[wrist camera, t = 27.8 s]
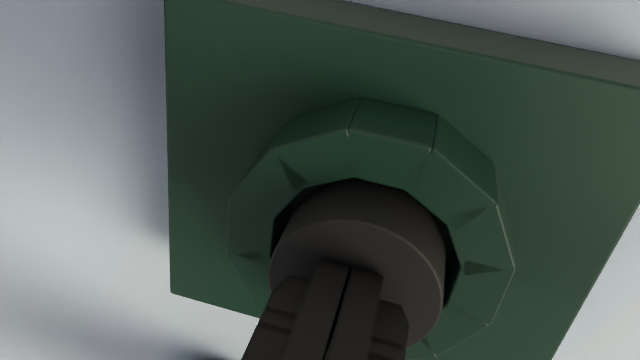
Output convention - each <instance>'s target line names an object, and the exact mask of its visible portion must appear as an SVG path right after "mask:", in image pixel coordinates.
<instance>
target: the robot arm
mask: <svg viewBox="0 0 640 360" xmlns="http://www.w3.org/2000/svg"><path fill="white" fill-rule="evenodd" d="M349 269H350V267H349V266H345V265H341V264H337V263H334V262H330V261H326V260H322V259H318V261H317V263H316V266H315V269H314V271H313V274H312V276H311V279H310V280H307V279H303V278H300V277H296V276H292V275H289V276H288V277H287V278H286V279H284V280H283V281H282V282H281V283H280V284H278V285H277V286H276V287H275V288H274V289H273V291H272V293H271V296H270V298H269V300H268V302H267V304H266V307H265V310H264V311H263V313H262V315H261V318H260V320H259V323H258V325H257V326H256V328H255V331H254V333H253V335H252V337H251V339H250V342H249V344H248V346H247V348H246V350H245V353H244V355H243V357H242V359H241V360H405V353H406V346H407V338H408V330H409V324H408V321H407V318H406V315H405V313H404V310H403V307H402V305H399V304H395V303H391V302H388V301H384V300H380V299H379V298H380V293H381V288H382V284H383V279H384V276H383V275H379V274H375V273H372V272H368V271H364V270H360V269H357V268H352V271H351V274H350V278H349V281H348V285H347V288H346V292H345V287H346V283H347V278H348V274H349ZM344 292H345V295H344ZM343 296H344V299H343ZM342 301H343V302H342ZM341 305H342V306H341Z"/></svg>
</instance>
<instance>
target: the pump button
mask: <svg viewBox="0 0 640 360" xmlns="http://www.w3.org/2000/svg"><path fill="white" fill-rule="evenodd" d="M318 259H322V260H326V261H330V262H334V263H337V264H341V265H345V266H349V267H350V269H349V274H348V278H347V283H346V287H345V292H346V288H347V285H348V281H349V278H350V274H351V271H352V268H357V269H360V270H364V271H368V272H372V273H375V274H379V275H383V276H384V279H383V284H382V288H381V293H380V298H379V299H380V300H384V301H388V302H391V303H395V304H399V305H402V307H403V310H404V313H405V315H406V318H407V321H408V324H409V330H408V338H407V346H406V349H407V348H409V347H411V346H413V345H415V344H417V343H418V342H419V341H421V340H422V339H424V338H425V337H426V336H427V335H428V334H429V333H430V332H431V330H432V329H433V328H434V326H435V325H436V323H437V321H438V319H439V317H440V315H441V311H442V307H443V296H444V279H445V261H446V246H445V240H444V236H443V233H442V231H441V229H440V226H439V224H438V223H437V221H436V220H435V218H434V216H433V215H432V214H431V213H430V212H429V210H428V209H427V208H426V207H424V206H423V205H422V204H421V203H420V202H418V201H417V200H416V199H415V198H414V197H412V196H411V195H410V194H408V193H406V192H405V191H403V190H401V189H399V188H394V187H390V186H386V185H382V184H378V183H374V182H370V181H366V180H362V179H347V180H341V181H336V182H332V183H329V184H326V185H324V186H322V187H320V188H317V189H316V190H314V191H313V192H311V193H310V194H308V195H307V196H306V197H305V198H304V199H303V200H302V201H301V202H300V203H299V204H298V206H297V207H296V209H295V210H294V212H293V214H292V216H291V218H290V220H289V222H288V224H287V226H286V228H285V230H284V232H283V234H282V236H281V238H280V240H279V242H278V244H277V246H276V248H275V250H274V252H273V255H272V257H271V260H270V265H269V274H268V278H269V285H270V290H271V293H272V291H273V289H274V288H275V287H276V286H277V285H278V284H280V283H281V282H282V281H283V280H284V279H286V278H287V277H288V276H289V275H292V276H296V277H300V278H303V279H307V280H310V279H311V276H312V274H313V271H314V269H315V266H316V263H317V261H318ZM345 292H344V295H345ZM343 299H344V296H343ZM342 302H343V301H342ZM341 306H342V305H341Z"/></svg>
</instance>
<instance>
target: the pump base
mask: <svg viewBox="0 0 640 360" xmlns="http://www.w3.org/2000/svg"><path fill="white" fill-rule="evenodd" d="M164 17H165V63H166V108H167V153H168V199H169V244H170V289H171V293H173V294H176V295H180V296H183V297H187V298H190V299H194V300H197V301H201V302H204V303H208V304H211V305H215V306H218V307H222V308H225V309H229V310H233V311H236V312H240V313H243V314H247V315H250V316H254V317H257V318H261V315H262V313H263V311H264V310H265V307H266V304H267V302H268V300H269V298H270V296H271V290H270V285H269V278H268V274H269V265H270V260H271V257H272V255H273V252H274V250H275V248H276V246H277V244H278V242H279V240H280V238H281V236H282V234H283V232H284V230H285V228H286V226H287V224H288V222H289V220H290V218H291V216H292V214H293V212H294V210H295V209H296V207H297V206H298V204H299V203H300V202H301V201H302V200H303V199H304V198H305V197H306V196H307V195H308V194H310V193H311V192H313V191H314V190H316V189H317V188H320V187H322V186H324V185H326V184H329V183H332V182H336V181H341V180H347V179H362V180H366V181H370V182H374V183H378V184H382V185H386V186H390V187H394V188H399V189H401V190H403V191H405V192H406V193H408V194H410V195H411V196H412V197H414V198H415V199H416V200H417V201H418V202H420V203H421V204H422V205H423V206H424V207H426V208H427V209H428V210H429V212H430V213H431V214H432V215H433V216H434V218H435V220H436V221H437V223H438V224H439V226H440V229H441V231H442V233H443V236H444V240H445V246H446V261H445V279H444V296H443V307H442V311H441V315H440V317H439V319H438V321H437V323H436V325H435V326H434V328H433V329H432V330H431V332H430V333H429V334H428V335H427V336H426V337H425V338H424V339H422V340H421V341H419V342H418V343H417V344H415V345H413V346H411V347H409V348H407V349H406V353H405V360H552V358H553V356H554V354H555V352H556V351H557V349H558V347H559V345H560V344H561V342H562V340H563V338H564V337H565V335H566V333H567V331H568V329H569V328H570V326H571V324H572V322H573V321H574V319H575V317H576V315H577V314H578V312H579V310H580V308H581V307H582V305H583V303H584V301H585V299H586V298H587V296H588V294H589V292H590V291H591V289H592V287H593V285H594V284H595V282H596V280H597V278H598V276H599V275H600V273H601V271H602V269H603V268H604V266H605V264H606V262H607V261H608V259H609V257H610V255H611V253H612V252H613V250H614V248H615V246H616V245H617V243H618V241H619V239H620V238H621V236H622V234H623V232H624V230H625V229H626V227H627V225H628V223H629V222H630V220H631V218H632V216H633V215H634V213H635V211H636V209H637V207H638V206H639V204H640V61H637V60H632V59H627V58H622V57H617V56H612V55H607V54H603V53H598V52H593V51H588V50H583V49H578V48H573V47H568V46H563V45H558V44H553V43H548V42H543V41H538V40H533V39H528V38H523V37H518V36H513V35H508V34H503V33H498V32H493V31H489V30H484V29H479V28H474V27H469V26H464V25H459V24H454V23H449V22H444V21H439V20H434V19H429V18H424V17H419V16H414V15H409V14H404V13H399V12H394V11H389V10H384V9H380V8H375V7H370V6H365V5H360V4H355V3H350V2H345V1H340V0H164Z"/></svg>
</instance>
